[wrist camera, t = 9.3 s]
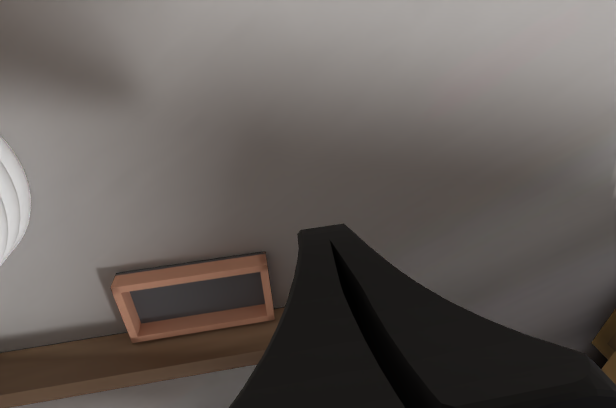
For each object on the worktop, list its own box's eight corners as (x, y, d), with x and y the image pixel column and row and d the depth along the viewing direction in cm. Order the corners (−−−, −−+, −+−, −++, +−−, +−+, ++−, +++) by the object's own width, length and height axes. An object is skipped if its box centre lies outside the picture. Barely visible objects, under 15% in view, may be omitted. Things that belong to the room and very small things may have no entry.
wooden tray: (322, 313, 25) (332, 350, 23) (-113, 384, 23) (-158, 436, 20) (289, -212, 14) (302, -257, 11) (-619, -188, 11) (-882, -240, 8)
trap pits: (299, 289, 24) (302, 303, 23) (179, 360, 25) (176, 376, 24) (-206, -297, 11) (-252, -325, 10) (-403, -97, 12) (-462, -104, 11)
